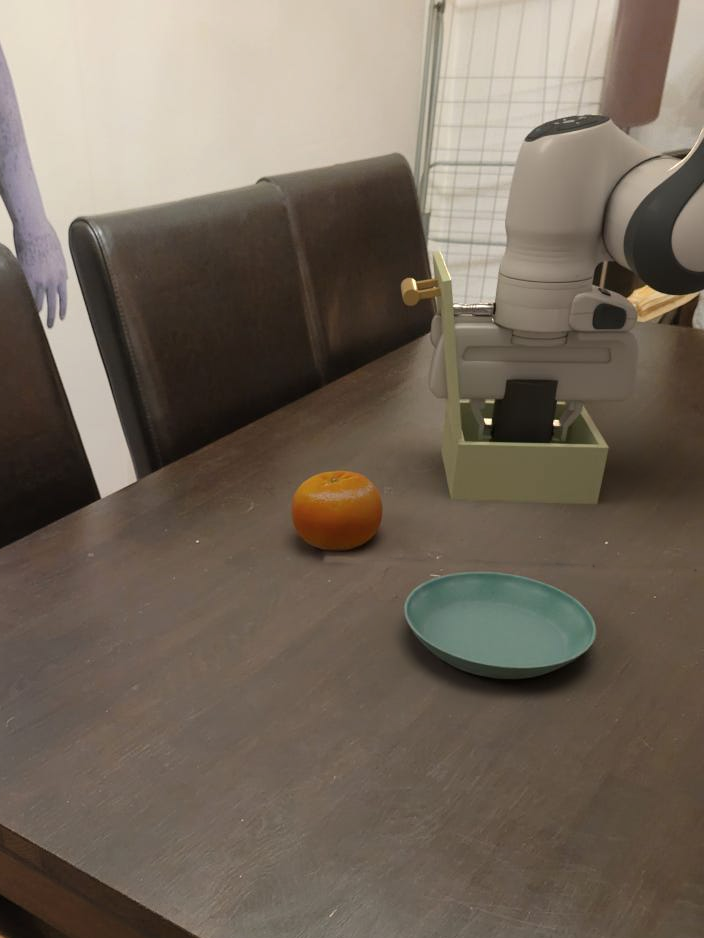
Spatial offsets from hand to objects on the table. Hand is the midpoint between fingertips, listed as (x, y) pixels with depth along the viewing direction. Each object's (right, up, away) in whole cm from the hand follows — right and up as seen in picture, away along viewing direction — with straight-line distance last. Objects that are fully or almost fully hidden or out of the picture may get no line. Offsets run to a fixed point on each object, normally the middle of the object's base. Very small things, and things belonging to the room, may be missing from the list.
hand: (520, 438), depth 101 cm
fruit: (-21, -12, -9) cm, 25 cm away
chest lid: (-8, +9, -4) cm, 13 cm away
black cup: (0, -4, +2) cm, 4 cm away
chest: (0, -4, +3) cm, 5 cm away
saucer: (-10, -22, -24) cm, 34 cm away
